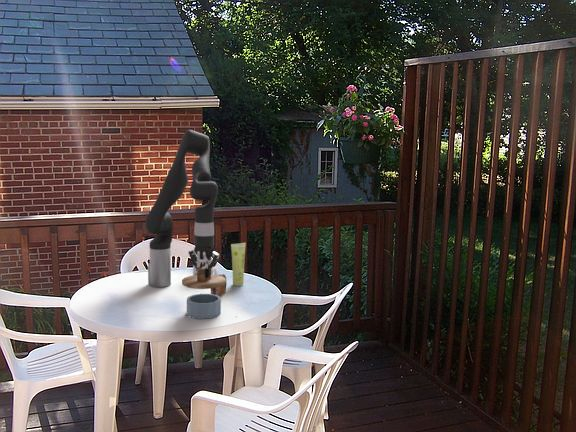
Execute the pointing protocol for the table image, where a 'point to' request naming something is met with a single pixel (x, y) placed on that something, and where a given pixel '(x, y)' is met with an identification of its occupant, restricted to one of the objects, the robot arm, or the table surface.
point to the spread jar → (202, 266)
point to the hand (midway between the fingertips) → (204, 277)
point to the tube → (238, 263)
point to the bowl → (203, 306)
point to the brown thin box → (219, 289)
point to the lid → (203, 280)
